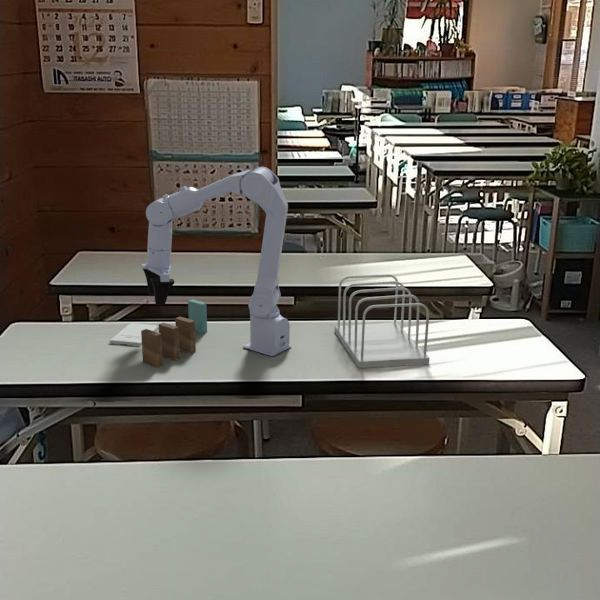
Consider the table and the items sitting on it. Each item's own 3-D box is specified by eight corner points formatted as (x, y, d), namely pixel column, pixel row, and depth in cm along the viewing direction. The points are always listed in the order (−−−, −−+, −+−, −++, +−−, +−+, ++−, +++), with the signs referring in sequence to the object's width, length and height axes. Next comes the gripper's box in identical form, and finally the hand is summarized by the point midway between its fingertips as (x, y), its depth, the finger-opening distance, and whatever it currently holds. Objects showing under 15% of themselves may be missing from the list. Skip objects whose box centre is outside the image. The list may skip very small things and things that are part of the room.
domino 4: (193, 327, 196) (192, 299, 193) (207, 331, 193) (206, 303, 191) (189, 329, 195) (188, 300, 192) (202, 333, 192) (202, 304, 189)
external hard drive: (158, 331, 195) (140, 348, 183) (129, 328, 196) (109, 345, 185) (158, 325, 194) (140, 342, 183) (129, 322, 196) (109, 339, 184)
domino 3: (181, 346, 183) (179, 316, 181) (195, 351, 181) (194, 320, 178) (176, 348, 182) (175, 318, 180) (191, 353, 179) (190, 322, 177)
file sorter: (429, 365, 175) (434, 303, 170) (358, 370, 172) (361, 307, 167) (396, 328, 198) (400, 272, 193) (333, 331, 195) (335, 275, 190)
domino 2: (165, 353, 179) (163, 322, 177) (179, 358, 176) (178, 327, 174) (160, 355, 178) (158, 324, 175) (174, 360, 175) (173, 328, 173)
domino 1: (148, 360, 175) (146, 328, 172) (162, 365, 172) (161, 333, 170) (142, 362, 174) (141, 330, 171) (157, 367, 171) (156, 335, 168)
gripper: (136, 239, 185) (134, 290, 189) (149, 256, 172) (147, 310, 177) (164, 239, 187) (162, 289, 192) (179, 256, 175) (175, 309, 180)
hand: (156, 299), depth 185 cm, fingers open, 7 cm apart
